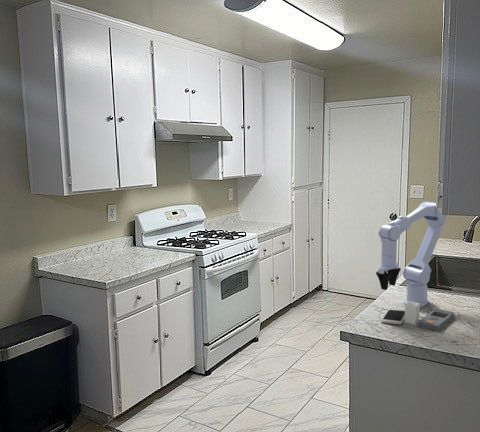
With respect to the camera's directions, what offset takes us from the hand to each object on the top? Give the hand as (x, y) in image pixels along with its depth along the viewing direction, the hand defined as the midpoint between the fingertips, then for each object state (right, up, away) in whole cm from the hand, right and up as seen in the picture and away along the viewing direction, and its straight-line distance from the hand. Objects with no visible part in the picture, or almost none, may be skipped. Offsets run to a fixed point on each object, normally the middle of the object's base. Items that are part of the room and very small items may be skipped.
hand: (388, 287), depth 182 cm
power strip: (+14, -11, -14) cm, 22 cm away
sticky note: (+4, -11, -13) cm, 18 cm away
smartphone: (0, -11, -8) cm, 13 cm away
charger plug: (+5, -11, -13) cm, 18 cm away
